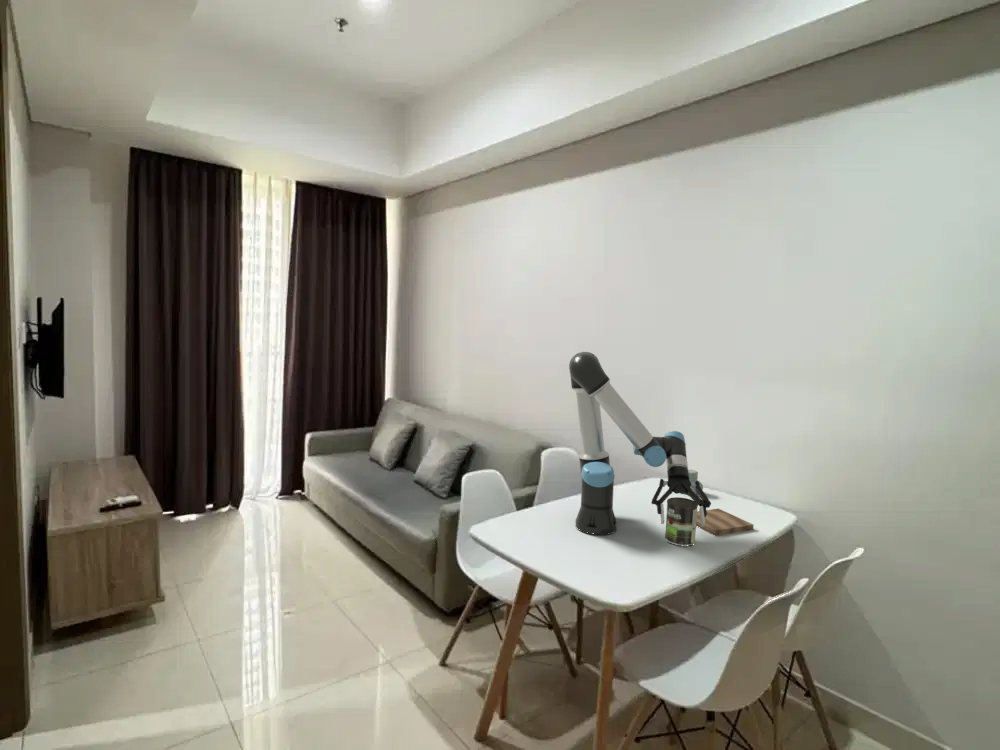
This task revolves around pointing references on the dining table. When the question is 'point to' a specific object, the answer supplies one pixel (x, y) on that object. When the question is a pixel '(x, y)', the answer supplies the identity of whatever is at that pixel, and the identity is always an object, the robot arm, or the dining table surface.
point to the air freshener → (694, 479)
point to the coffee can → (681, 521)
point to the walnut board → (722, 523)
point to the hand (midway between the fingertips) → (683, 523)
